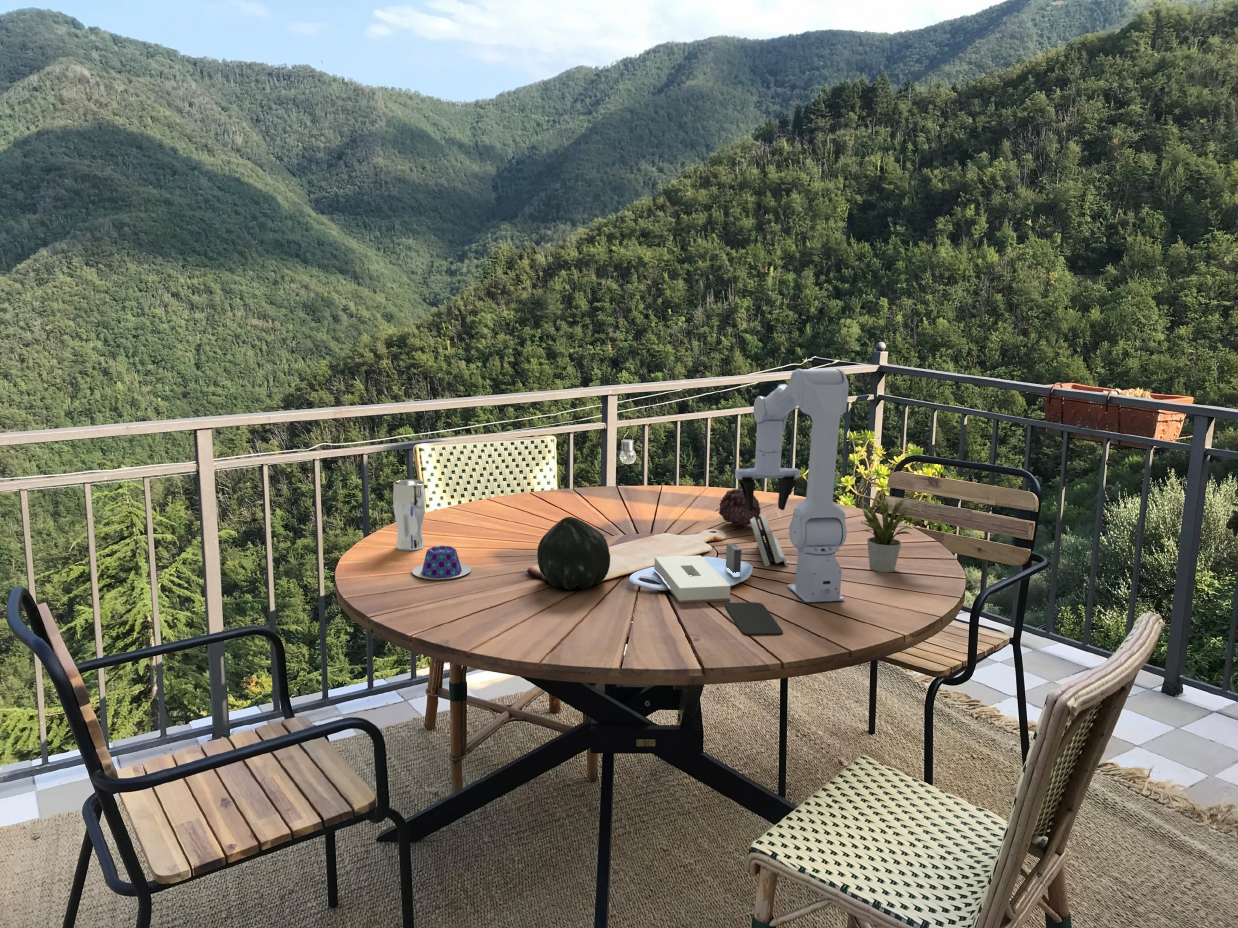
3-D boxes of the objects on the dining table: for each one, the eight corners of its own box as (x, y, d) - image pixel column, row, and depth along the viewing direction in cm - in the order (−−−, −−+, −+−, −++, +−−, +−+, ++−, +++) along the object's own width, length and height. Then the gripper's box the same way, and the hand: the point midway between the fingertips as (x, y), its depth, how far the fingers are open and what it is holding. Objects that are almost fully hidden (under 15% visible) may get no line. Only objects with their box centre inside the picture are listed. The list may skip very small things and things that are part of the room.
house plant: (920, 562, 193) (927, 491, 190) (924, 581, 180) (931, 505, 177) (854, 556, 196) (859, 486, 193) (853, 574, 183) (859, 499, 180)
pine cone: (771, 536, 212) (773, 496, 210) (732, 537, 210) (734, 497, 208) (746, 518, 229) (747, 481, 227) (710, 519, 227) (711, 482, 225)
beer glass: (387, 548, 194) (385, 483, 192) (408, 541, 201) (407, 478, 198) (411, 553, 191) (410, 487, 188) (432, 545, 197) (431, 481, 195)
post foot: (729, 600, 166) (730, 585, 165) (679, 603, 164) (679, 587, 163) (699, 568, 185) (700, 555, 184) (654, 570, 183) (654, 557, 182)
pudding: (401, 571, 180) (401, 547, 179) (453, 561, 187) (452, 537, 186) (429, 586, 171) (428, 561, 170) (482, 575, 178) (481, 550, 177)
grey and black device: (788, 566, 188) (774, 524, 186) (766, 573, 188) (753, 530, 187) (779, 545, 204) (767, 506, 202) (760, 551, 205) (747, 512, 203)
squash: (607, 543, 183) (563, 495, 177) (634, 566, 169) (587, 515, 163) (558, 590, 181) (512, 543, 175) (581, 617, 168) (532, 567, 162)
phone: (742, 633, 148) (723, 602, 163) (742, 638, 149) (723, 606, 163) (785, 633, 149) (761, 602, 164) (784, 637, 149) (761, 606, 164)
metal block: (740, 577, 180) (741, 549, 179) (733, 577, 180) (734, 549, 178) (732, 569, 185) (733, 542, 184) (725, 570, 184) (726, 543, 183)
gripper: (792, 447, 199) (788, 504, 201) (731, 447, 196) (729, 506, 198) (804, 452, 192) (800, 511, 195) (742, 453, 189) (739, 513, 192)
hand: (765, 509), depth 196 cm, fingers open, 7 cm apart
